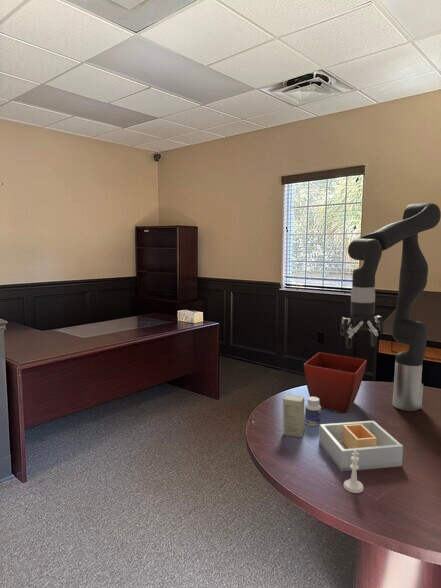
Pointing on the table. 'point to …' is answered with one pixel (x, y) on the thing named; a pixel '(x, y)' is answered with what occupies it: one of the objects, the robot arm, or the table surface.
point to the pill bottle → (313, 412)
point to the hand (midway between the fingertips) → (361, 347)
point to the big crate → (369, 457)
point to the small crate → (357, 437)
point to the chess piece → (354, 477)
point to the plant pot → (334, 380)
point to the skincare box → (293, 415)
